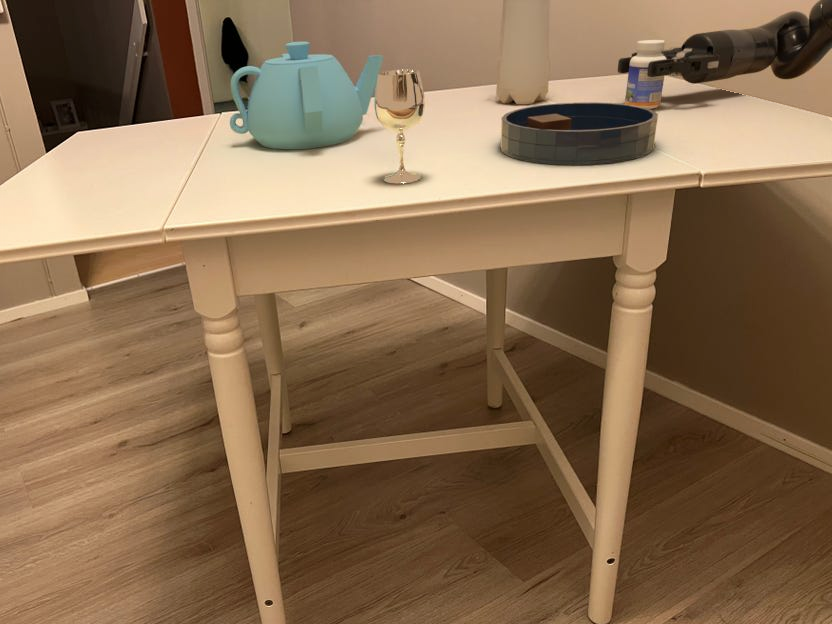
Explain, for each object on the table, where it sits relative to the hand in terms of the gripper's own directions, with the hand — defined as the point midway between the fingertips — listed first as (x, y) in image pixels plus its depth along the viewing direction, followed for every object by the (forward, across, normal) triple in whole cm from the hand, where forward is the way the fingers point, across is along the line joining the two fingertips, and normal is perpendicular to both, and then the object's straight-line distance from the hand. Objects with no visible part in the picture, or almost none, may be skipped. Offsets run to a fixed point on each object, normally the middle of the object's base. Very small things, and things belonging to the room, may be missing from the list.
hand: (634, 67), depth 110 cm
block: (+28, +16, +6) cm, 33 cm away
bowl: (+23, +16, +6) cm, 28 cm away
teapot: (+49, -15, +6) cm, 52 cm away
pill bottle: (-3, 0, +6) cm, 7 cm away
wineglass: (+48, +16, +6) cm, 51 cm away
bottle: (+8, -18, +6) cm, 21 cm away
